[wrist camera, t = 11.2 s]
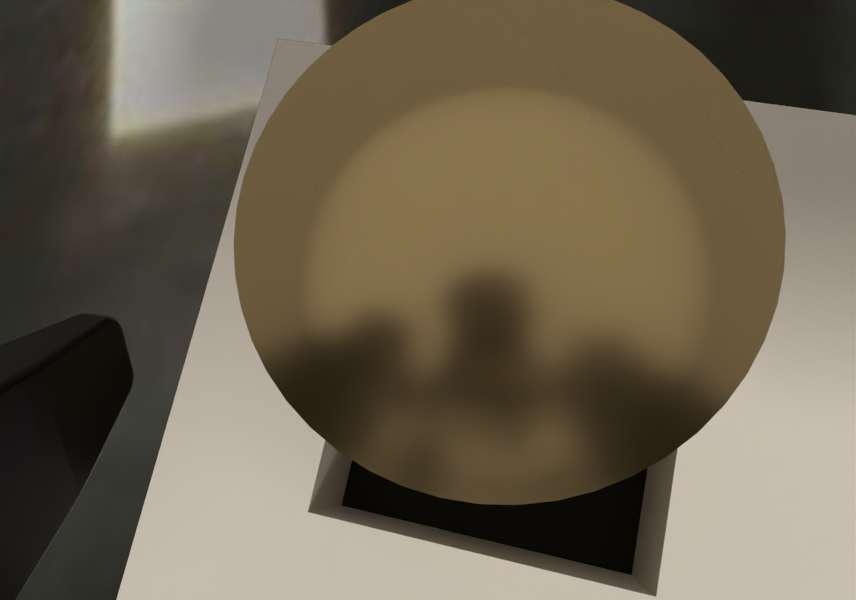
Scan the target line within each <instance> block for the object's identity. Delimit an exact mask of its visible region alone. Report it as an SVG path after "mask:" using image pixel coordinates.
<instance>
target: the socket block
mask: <svg viewBox="0 0 856 600" xmlns="http://www.w3.org/2000/svg"><path fill="white" fill-rule="evenodd" d="M330 47H331V46H330V45H323V44H315V43H308V42H300V41H293V40H285V39H278V41H277V45H276V48H275V52H274V55H273V59H272V62H271V66H270V69H269V72H268V76H267V79H266V83H265V86H264V90H263V93H262V97H261V100H260V104H259V107H258V111H257V114H256V118H255V121H254V124H253V128H252V131H251V135H250V138H249V142H248V145H247V149H246V152H245V156H244V159H243V163H242V166H241V170H240V173H239V176H238V180H237V183H236V187H235V190H234V194H233V197H232V201H231V204H230V208H229V211H228V215H227V218H226V222H225V225H224V228H223V232H222V235H221V239H220V242H219V246H218V249H217V253H216V256H215V260H214V263H213V267H212V270H211V273H210V277H209V280H208V284H207V287H206V291H205V294H204V298H203V301H202V305H201V308H200V312H199V315H198V319H197V322H196V325H195V329H194V332H193V336H192V339H191V343H190V346H189V350H188V353H187V357H186V360H185V364H184V367H183V371H182V374H181V377H180V381H179V384H178V388H177V391H176V395H175V398H174V402H173V405H172V409H171V412H170V416H169V419H168V423H167V426H166V429H165V433H164V436H163V440H162V443H161V447H160V450H159V454H158V457H157V461H156V464H155V468H154V471H153V475H152V478H151V481H150V485H149V488H148V492H147V495H146V499H145V502H144V506H143V509H142V513H141V516H140V520H139V523H138V527H137V530H136V533H135V537H134V540H133V544H132V547H131V551H130V554H129V558H128V561H127V565H126V568H125V572H124V575H123V579H122V582H121V585H120V589H119V592H118V596H117V599H116V600H856V115H849V114H842V113H834V112H827V111H819V110H812V109H804V108H797V107H789V106H782V105H774V104H766V103H759V102H751V101H744V100H743V101H744V103H745V104H746V106H747V108H748V110H749V111H750V113H751V115H752V117H753V118H754V120H755V122H756V124H757V125H758V127H759V129H760V131H761V133H762V135H763V138H764V140H765V143H766V145H767V148H768V150H769V153H770V155H771V158H772V160H773V163H774V166H775V170H776V174H777V178H778V182H779V186H780V190H781V194H782V198H783V209H784V219H785V229H786V243H785V264H784V273H783V278H782V283H781V289H780V294H779V299H778V304H777V307H776V310H775V313H774V316H773V319H772V322H771V324H770V327H769V330H768V333H767V336H766V339H765V341H764V343H763V345H762V347H761V349H760V351H759V353H758V354H757V356H756V358H755V360H754V362H753V364H752V366H751V368H750V370H749V372H748V374H747V375H746V376H745V378H744V379H743V380H742V382H741V383H740V385H739V386H738V387H737V389H736V390H735V392H734V393H733V394H732V396H731V397H730V398H729V400H728V401H727V403H726V404H725V405H724V406H723V407H722V408H721V409H720V410H719V411H718V412H717V413H716V414H715V415H714V416H713V418H712V419H711V420H710V421H709V422H708V423H707V424H706V425H705V426H704V427H703V428H702V429H701V430H700V431H699V432H698V433H697V434H695V435H694V436H693V437H692V438H690V439H689V440H688V441H686V442H685V443H684V444H683V445H681V446H680V447H679V448H677V449H676V450H675V451H673V452H672V453H671V454H670V455H668V456H667V457H665V458H664V459H662V460H660V461H658V462H657V463H655V464H653V465H651V466H650V467H648V469H647V476H646V482H645V489H644V495H643V502H642V509H641V515H640V522H639V529H638V535H637V542H636V548H635V555H634V562H633V568H632V575H630V574H625V573H621V572H617V571H613V570H609V569H605V568H600V567H596V566H592V565H588V564H584V563H580V562H575V561H571V560H567V559H563V558H559V557H555V556H550V555H546V554H542V553H538V552H534V551H530V550H525V549H521V548H517V547H513V546H509V545H504V544H500V543H496V542H492V541H488V540H484V539H479V538H475V537H471V536H467V535H463V534H459V533H454V532H450V531H446V530H442V529H438V528H434V527H429V526H425V525H421V524H417V523H413V522H409V521H404V520H400V519H396V518H392V517H388V516H384V515H379V514H375V513H371V512H367V511H363V510H359V509H354V508H350V507H346V506H342V502H343V498H344V493H345V489H346V485H347V480H348V476H349V472H350V468H351V463H352V460H351V459H350V458H348V457H347V456H345V455H344V454H342V453H340V452H339V451H337V450H336V449H335V448H334V447H333V446H332V445H330V444H329V443H328V442H327V441H326V440H324V439H323V438H322V437H321V436H320V435H319V434H317V433H316V432H315V431H314V430H313V429H312V428H310V427H309V426H308V424H307V423H306V422H305V421H304V420H303V419H302V418H301V417H300V415H299V414H298V413H297V412H296V411H295V410H294V409H293V408H292V406H291V405H290V404H289V403H288V402H287V401H286V400H285V398H284V397H283V395H282V394H281V392H280V391H279V389H278V388H277V386H276V385H275V383H274V382H273V380H272V379H271V377H270V376H269V374H268V373H267V371H266V369H265V367H264V365H263V363H262V361H261V359H260V357H259V355H258V353H257V351H256V349H255V347H254V344H253V342H252V340H251V337H250V334H249V331H248V328H247V325H246V322H245V319H244V316H243V313H242V310H241V306H240V300H239V295H238V289H237V284H236V278H235V266H234V244H233V241H234V230H235V218H236V209H237V204H238V199H239V195H240V190H241V186H242V181H243V177H244V174H245V172H246V169H247V166H248V163H249V161H250V158H251V155H252V152H253V149H254V147H255V145H256V143H257V141H258V139H259V137H260V135H261V133H262V131H263V129H264V127H265V125H266V123H267V121H268V119H269V118H270V116H271V115H272V113H273V112H274V110H275V109H276V107H277V106H278V104H279V103H280V101H281V100H282V98H283V97H284V95H285V94H286V92H287V91H288V90H289V89H290V88H291V87H292V85H293V84H294V83H295V82H296V81H297V80H298V79H299V77H300V76H301V75H302V74H303V73H304V72H305V70H306V69H307V68H308V67H309V66H310V65H311V64H312V63H314V62H315V61H316V60H317V59H318V58H319V57H320V56H321V55H322V54H323V53H325V52H326V51H327V50H328V49H329V48H330Z"/></svg>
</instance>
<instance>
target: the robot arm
mask: <svg viewBox="0 0 856 600" xmlns="http://www.w3.org/2000/svg"><path fill="white" fill-rule="evenodd" d="M133 381H134V371H133V366H132V362H131V358H130V355H129V351H128V347H127V343H126V339H125V336H124V332H123V328H122V325H121V324H120V322H119V321H118V320H117V319H116V318H114V317H112V316H106V315H97V314H86V313H85V314H79V315H76V316H74V317H71V318H69V319H66V320H64V321H61V322H59V323H56V324H54V325H51V326H49V327H46V328H44V329H41V330H39V331H36V332H34V333H31V334H29V335H26V336H24V337H21V338H18V339H16V340H13V341H11V342H8V343H6V344H3V345H1V346H0V600H17V598H18V597H19V595H20V593H21V592H22V590H23V589H24V587H25V585H26V584H27V582H28V580H29V579H30V577H31V576H32V574H33V572H34V571H35V569H36V567H37V566H38V564H39V563H40V561H41V559H42V558H43V556H44V554H45V553H46V551H47V550H48V548H49V546H50V545H51V543H52V541H53V540H54V538H55V537H56V535H57V533H58V532H59V530H60V528H61V527H62V525H63V524H64V522H65V520H66V519H67V517H68V515H69V514H70V512H71V510H72V509H73V507H74V505H75V503H76V502H77V500H78V498H79V497H80V495H81V493H82V491H83V489H84V487H85V485H86V483H87V481H88V479H89V478H90V475H91V473H92V471H93V469H94V467H95V465H96V463H97V461H98V459H99V457H100V455H101V452H102V450H103V448H104V446H105V444H106V442H107V440H108V438H109V436H110V434H111V432H112V429H113V427H114V425H115V423H116V421H117V419H118V417H119V415H120V413H121V411H122V409H123V407H124V404H125V402H126V400H127V398H128V396H129V394H130V392H131V389H132V386H133Z"/></svg>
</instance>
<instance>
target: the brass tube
mask: <svg viewBox="0 0 856 600" xmlns="http://www.w3.org/2000/svg"><path fill="white" fill-rule="evenodd" d="M785 243H786V229H785V219H784V209H783V198H782V194H781V190H780V186H779V182H778V178H777V174H776V170H775V166H774V163H773V160H772V158H771V155H770V153H769V150H768V148H767V145H766V143H765V140H764V138H763V135H762V133H761V131H760V129H759V127H758V125H757V124H756V122H755V120H754V118H753V117H752V115H751V113H750V111H749V110H748V108H747V106H746V104H745V103H744V101H743V100H742V98H741V97H740V96H739V95H738V93H737V92H736V91H735V89H734V88H733V87H732V85H731V84H730V83H729V82H728V80H727V79H726V78H725V76H724V75H723V74H722V73H721V72H720V71H719V70H718V69H717V68H716V67H715V66H714V65H713V64H712V63H711V62H710V61H709V60H708V59H707V58H706V57H705V56H704V55H703V54H702V53H701V52H700V51H699V50H698V49H696V48H695V47H694V46H693V45H691V44H690V43H689V42H687V41H686V40H685V39H683V38H682V37H681V36H680V35H678V34H677V33H676V32H674V31H673V30H672V29H670V28H668V27H667V26H665V25H663V24H661V23H660V22H658V21H656V20H655V19H653V18H651V17H650V16H648V15H646V14H644V13H643V12H640V11H638V10H636V9H633V8H631V7H629V6H627V5H624V4H622V3H620V2H617V1H615V0H412V1H410V2H407V3H405V4H402V5H400V6H398V7H395V8H393V9H390V10H388V11H386V12H384V13H382V14H380V15H379V16H377V17H375V18H373V19H372V20H370V21H368V22H366V23H364V24H363V25H361V26H359V27H357V28H356V29H355V30H353V31H352V32H350V33H349V34H348V35H346V36H345V37H343V38H342V39H341V40H339V41H338V42H337V43H335V44H334V45H332V46H331V47H330V48H329V49H328V50H327V51H326V52H325V53H323V54H322V55H321V56H320V57H319V58H318V59H317V60H316V61H315V62H314V63H312V64H311V65H310V66H309V67H308V68H307V69H306V70H305V72H304V73H303V74H302V75H301V76H300V77H299V79H298V80H297V81H296V82H295V83H294V84H293V85H292V87H291V88H290V89H289V90H288V91H287V92H286V94H285V95H284V97H283V98H282V100H281V101H280V103H279V104H278V106H277V107H276V109H275V110H274V112H273V113H272V115H271V116H270V118H269V119H268V121H267V123H266V125H265V127H264V129H263V131H262V133H261V135H260V137H259V139H258V141H257V143H256V145H255V147H254V149H253V152H252V155H251V158H250V161H249V163H248V166H247V169H246V172H245V174H244V177H243V181H242V186H241V190H240V195H239V199H238V204H237V209H236V218H235V230H234V241H233V244H234V266H235V278H236V284H237V289H238V295H239V300H240V306H241V310H242V313H243V316H244V319H245V322H246V325H247V328H248V331H249V334H250V337H251V340H252V342H253V344H254V347H255V349H256V351H257V353H258V355H259V357H260V359H261V361H262V363H263V365H264V367H265V369H266V371H267V373H268V374H269V376H270V377H271V379H272V380H273V382H274V383H275V385H276V386H277V388H278V389H279V391H280V392H281V394H282V395H283V397H284V398H285V400H286V401H287V402H288V403H289V404H290V405H291V406H292V408H293V409H294V410H295V411H296V412H297V413H298V414H299V415H300V417H301V418H302V419H303V420H304V421H305V422H306V423H307V424H308V426H309V427H310V428H312V429H313V430H314V431H315V432H316V433H317V434H319V435H320V436H321V437H322V438H323V439H324V440H326V441H327V442H328V443H329V444H330V445H332V446H333V447H334V448H335V449H336V450H337V451H339V452H340V453H342V454H344V455H345V456H347V457H348V458H350V459H351V460H353V461H355V462H356V463H358V464H359V465H361V466H362V467H364V468H366V469H367V470H369V471H371V472H373V473H375V474H377V475H379V476H382V477H384V478H386V479H388V480H390V481H392V482H395V483H397V484H399V485H401V486H403V487H407V488H410V489H413V490H416V491H420V492H423V493H426V494H429V495H433V496H436V497H439V498H445V499H451V500H457V501H463V502H469V503H475V504H498V505H522V504H531V503H541V502H550V501H558V500H562V499H566V498H570V497H574V496H578V495H582V494H586V493H590V492H594V491H597V490H600V489H602V488H605V487H607V486H610V485H612V484H615V483H617V482H619V481H622V480H624V479H627V478H629V477H632V476H634V475H636V474H637V473H639V472H641V471H643V470H644V469H646V468H648V467H650V466H651V465H653V464H655V463H657V462H658V461H660V460H662V459H664V458H665V457H667V456H668V455H670V454H671V453H672V452H673V451H675V450H676V449H677V448H679V447H680V446H681V445H683V444H684V443H685V442H686V441H688V440H689V439H690V438H692V437H693V436H694V435H695V434H697V433H698V432H699V431H700V430H701V429H702V428H703V427H704V426H705V425H706V424H707V423H708V422H709V421H710V420H711V419H712V418H713V416H714V415H715V414H716V413H717V412H718V411H719V410H720V409H721V408H722V407H723V406H724V405H725V404H726V403H727V401H728V400H729V398H730V397H731V396H732V394H733V393H734V392H735V390H736V389H737V387H738V386H739V385H740V383H741V382H742V380H743V379H744V378H745V376H746V375H747V374H748V372H749V370H750V368H751V366H752V364H753V362H754V360H755V358H756V356H757V354H758V353H759V351H760V349H761V347H762V345H763V343H764V341H765V339H766V336H767V333H768V330H769V327H770V324H771V322H772V319H773V316H774V313H775V310H776V307H777V304H778V299H779V294H780V289H781V283H782V278H783V273H784V264H785Z"/></svg>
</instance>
